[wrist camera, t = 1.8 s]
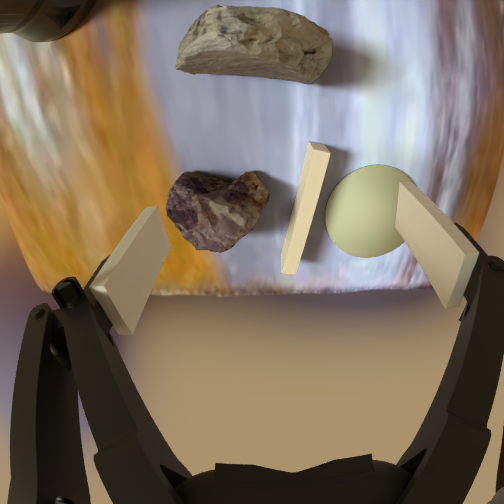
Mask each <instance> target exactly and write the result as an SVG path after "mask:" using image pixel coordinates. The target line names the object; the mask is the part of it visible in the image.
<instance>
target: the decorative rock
mask: <svg viewBox="0 0 504 504" xmlns="http://www.w3.org/2000/svg"><path fill="white" fill-rule="evenodd" d="M332 45H333V42H332V39H331V38H330V37H329V33H328V31H327V30H325V29H324V28H322V27H320V26H318V25H316V24H315V23H314V22H311V21H309V20H308V19H307V18H306V17H304V16H302V15H299V14H297V13H293V12H290V11H287V10H284V9H280V8H271V7H250V6H245V7H235V6H220V5H215V6H213V7H211V8H210V9H209V10H206V11H205V12H204V13H203V14H202V15H200V16H199V18H198V19H197V20H196V21H195V22H194V24H193V25H192V26H191V27H190V29H189V31H188V33H187V34H186V36H185V37H184V39H183V40H182V41H181V42H180V44H179V51H178V57H177V61H176V70H182V71H184V72H187V73H188V72H189V73H190V74H196V73H198V74H211V73H213V74H219V75H222V74H225V75H242V76H258V77H265V78H270V79H271V78H277V79H282V80H288V81H297V82H301V83H305V84H312V83H313V82H314V81H315V80H316V79H318V78H319V77H320V75H321V74H322V72H323V71H324V69H325V68H326V67H327V66H328V65H329V63H330V60H331V58H332Z"/></svg>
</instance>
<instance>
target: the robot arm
mask: <svg viewBox="0 0 504 504" xmlns="http://www.w3.org/2000/svg"><path fill="white" fill-rule="evenodd" d="M95 1H96V0H0V33H14V34H16V35H18V36H20V37H22V38H25V39H27V40H29V41H32V42H50V41H54V40H57V39H59V38H61V37H63V36H65V35H66V34H68V33H69V32H70V31H72V30H73V29H74V28H75V27H76V26H77V25H78V24H79V23H80V22H81V21H82V20H83V19H84V18H85V17H86V15H87V14H88V13H89V11H90V10H91V8H92V7H93V5H94V3H95ZM395 227H396V229H397V230H398V232H399V233H400V235H401V236H402V238H403V239H404V241H405V242H406V244H407V245H408V247H409V248H410V250H411V251H412V253H413V255H414V256H415V258H416V259H417V261H418V263H419V264H420V266H421V267H422V269H423V271H424V272H425V274H426V276H427V277H428V279H429V281H430V283H431V284H432V286H433V288H434V290H435V291H436V293H437V295H438V297H439V299H440V300H441V302H442V304H443V306H444V308H445V309H449V308H453V307H458V306H459V305H460V303H461V300H462V298H463V296H464V297H465V298H466V300H467V304H466V306H465V308H464V311H463V313H462V315H461V317H460V319H459V321H461V324H460V328H459V331H458V334H457V338H456V341H455V344H454V347H453V350H452V353H451V356H450V359H449V362H448V365H447V367H446V370H445V373H444V375H443V378H442V381H441V383H440V385H439V388H438V391H437V393H436V395H435V397H434V400H433V402H432V404H431V406H430V408H429V411H428V413H427V415H426V417H425V419H424V421H423V423H422V425H421V427H420V429H419V431H418V433H417V435H416V437H415V438H414V440H413V442H412V444H411V445H410V446H409V448H408V449H407V450H406V452H405V453H404V454H403V455H402V457H401V459H400V460H399V461H398V463H397V464H396V465H395V464H392V463H388V462H384V461H378V460H372V454H368V455H362V456H357V457H351V458H344V459H337V460H333V461H330V462H327V463H324V464H321V465H319V466H315V467H313V468H309V469H306V470H303V471H299V472H295V473H290V472H284V471H280V470H274V469H270V468H264V467H261V466H256V465H243V464H222V463H216V464H215V470H210V471H206V472H202V473H200V474H197V475H194V476H192V475H191V473H190V472H189V471H188V470H187V469H186V467H184V465H183V464H182V463H181V462H180V461H179V460H178V459H177V458H176V456H175V455H174V453H173V452H172V450H171V448H170V447H169V445H168V444H167V442H166V441H165V439H164V437H163V436H162V434H161V432H160V431H159V429H158V427H157V426H156V424H155V422H154V420H153V419H152V417H151V415H150V413H149V411H148V410H147V408H146V406H145V404H144V402H143V400H142V398H141V397H140V395H139V393H138V391H137V389H136V387H135V385H134V383H133V381H132V379H131V377H130V374H129V372H128V370H127V368H126V366H125V364H124V362H123V360H122V357H121V355H120V353H119V351H118V348H117V346H116V343H115V341H114V338H113V336H112V335H111V334H110V332H109V331H110V329H111V327H112V325H113V327H114V328H115V330H116V331H117V333H118V334H127V335H132V334H133V332H134V330H135V327H136V325H137V323H138V320H139V318H140V315H141V313H142V311H143V308H144V306H145V303H146V301H147V299H148V297H149V294H150V292H151V290H152V287H153V285H154V283H155V281H156V278H157V276H158V274H159V272H160V270H161V268H162V265H163V263H164V261H165V259H166V257H167V255H168V253H169V250H170V248H171V246H170V243H169V240H168V237H167V234H166V231H165V228H164V225H163V222H162V219H161V215H160V212H159V209H158V206H153V207H147V208H145V209H144V210H143V211H142V213H141V214H140V215H139V217H138V218H137V219H136V221H135V222H134V223H133V225H132V226H131V227H130V229H129V230H128V231H127V233H126V234H125V235H124V237H123V238H122V239H121V241H120V242H119V244H118V245H117V246H116V248H115V249H114V251H113V252H112V254H111V255H109V256H108V257H107V258H106V259H104V260H103V261H102V262H101V264H100V265H99V267H98V268H97V270H96V271H95V272H94V274H93V276H92V277H91V278H90V280H89V281H88V283H87V285H86V286H85V288H84V289H82V287H81V286H80V284H79V282H78V280H77V279H76V277H67V278H65V279H63V280H62V281H60V282H59V283H58V284H57V285H56V286H55V287H54V289H53V290H52V295H53V297H54V299H55V300H56V302H57V303H58V305H59V306H60V309H57V310H53V311H52V309H51V308H50V306H49V305H48V304H47V303H42V304H40V305H37V306H36V307H35V308H33V310H32V311H31V312H30V314H29V317H28V320H27V323H26V328H25V332H24V336H23V340H22V345H21V350H20V354H19V360H18V365H17V371H16V378H15V384H14V393H13V401H12V413H11V429H10V467H11V481H10V487H9V494H8V503H7V504H91V503H90V494H89V487H88V482H87V476H86V471H85V465H84V458H83V451H82V444H81V434H80V423H79V409H78V391H79V395H80V399H81V402H82V405H83V409H84V412H85V415H86V418H87V421H88V424H89V426H90V429H91V432H92V435H93V437H94V440H95V442H96V445H97V448H98V453H96V454H95V455H94V462H95V466H96V469H97V471H98V473H99V475H100V478H101V480H102V482H103V484H104V486H105V488H106V490H107V492H108V494H109V497H110V499H111V500H112V502H113V504H462V503H463V502H464V500H465V498H466V496H467V494H468V492H469V490H470V488H471V486H472V484H473V481H474V479H475V477H476V475H477V473H478V470H479V468H480V465H481V463H482V461H483V458H484V455H485V453H486V450H487V448H488V445H489V442H490V438H491V430H489V429H488V428H487V422H488V419H489V415H490V412H491V409H492V405H493V401H494V397H495V394H496V389H497V385H498V380H499V376H500V371H501V366H502V361H503V355H504V261H503V260H502V259H500V258H498V257H496V256H488V255H487V254H486V253H485V252H484V250H483V249H482V248H481V247H480V246H479V245H478V243H477V242H476V241H474V239H473V238H472V237H471V236H470V234H469V233H468V232H467V231H466V230H465V229H464V228H463V227H461V226H460V225H458V224H457V223H453V222H452V221H451V220H450V219H449V218H448V217H447V216H446V215H445V214H444V213H443V212H442V211H441V210H440V209H439V208H438V207H437V206H436V205H435V204H434V203H433V202H432V201H431V200H430V199H429V198H428V197H427V196H426V195H425V194H424V193H423V192H422V191H421V190H420V189H419V188H418V187H417V186H415V185H414V184H413V183H412V182H399V194H398V205H397V214H396V222H395ZM51 351H52V352H51ZM487 504H504V427H503V437H502V445H501V452H500V459H499V465H498V471H497V481H496V494H495V495H494V497H493V498H492V500H491V501H489V502H488V503H487Z"/></svg>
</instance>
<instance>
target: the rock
mask: <svg viewBox="0 0 504 504" xmlns="http://www.w3.org/2000/svg"><path fill="white" fill-rule="evenodd" d="M167 196H168V201H167V205H166V210H167V216H168V217H169V218H170V219H171V220H172V221H173V222H174V223H175V227H176V228H178V229H179V230H180V232H181V233H182V237H183V238H184V239H186V240H187V241H188V242H189V243H191V244H192V245H193V246H194V247H195V248H196V250H209V251H214V252H220V253H221V252H224V251H227V250H228V249H230V248H232V247H233V246H234V245H235V244H236V243H237V241H238V240H239V239H241V238H242V237H244V236H245V235H246V234H247V233H248V232H249V231H251V230H253V228H254V226H255V225H256V223H257V222H258V220H259V217H260V215H261V213H262V210H263V208H265V206H266V204H267V202H268V199H269V196H270V194H269V192H268V190H267V188H266V187H265V186H264V185H263V183H262V182H261V181H259V179H258V178H257V176H256V173H253V172H245V173H244V174H243V175H241V176H240V177H239V178H238V179H236V180H234V181H233V182H232V183H227V182H226V181H224V180H222V179H219V178H216V177H213V178H208V177H205V176H203V175H202V174H200V173H192V172H185V173H183V174H182V175H181V176H180V177H179V178H178V180H176V181H175V183H174V184H173V186H172V188H171V189H170V191H169V193H168V195H167Z"/></svg>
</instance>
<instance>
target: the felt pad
mask: <svg viewBox="0 0 504 504" xmlns="http://www.w3.org/2000/svg"><path fill="white" fill-rule="evenodd" d="M399 182H412V181H411V180H410V179H409V178H408V177H407V176H406V175H405V174H404V173H403V172H401V171H400V170H398V169H396V168H393V167H391V166H387V165H369V166H365V167H362V168H359V169H357V170H355V171H353V172H351V173H350V174H348V175H347V176H345V177H344V178H343V179H342V180H341V181H340V182H339V183H338V184H337V185H336V187H335V188H334V190H333V191H332V193H331V195H330V197H329V199H328V202H327V206H326V211H325V222H326V227H327V230H328V233H329V236H330V237H331V239H332V241H333V242H334V243H335V245H336V246H337V247H338V248H340V249H341V250H342V251H344V252H346V253H347V254H350V255H352V256H356V257H363V258H370V257H377V256H381V255H384V254H386V253H389V252H391V251H392V250H394V249H396V248H397V247H398V246H400V245H401V244H402V243H403V242H404V239H403V238H402V236H401V235H400V233H399V232H398V230H397V229H396V227H395V222H396V214H397V205H398V194H399ZM412 183H413V182H412Z"/></svg>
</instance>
